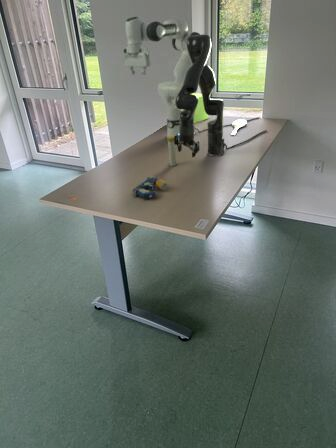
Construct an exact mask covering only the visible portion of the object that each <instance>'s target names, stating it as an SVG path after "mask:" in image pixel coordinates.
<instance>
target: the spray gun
mask: <svg viewBox="0 0 336 448" xmlns="http://www.w3.org/2000/svg"><path fill="white" fill-rule="evenodd" d="M155 186H156V187H157V188H158V189H159V190H161V191H166V190H167V189H168V188H169V187H168V186H169V185H168V184H167V182H166V181H164V180H163V179H158V177H157V176H156V175H155V176H146V178H145V179H144V180H143V181H141V182H140V183H139V184H138V185H137V186H136V187H134V188H133V189H132V193H131V194H132V195H133V196H134V197H137V196H138V197H140V198H142V199H144V200H148V199H152V198H154V197H155V196H156V194H157V191H155Z"/></svg>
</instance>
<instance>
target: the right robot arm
mask: <svg viewBox="0 0 336 448" xmlns="http://www.w3.org/2000/svg"><path fill="white" fill-rule="evenodd" d="M211 40H212V39H211V37H210V35H209V34H205V33H203V34H200V35H193V36H190V37H188V39H187V50H188V54H189V56H190V59H191V61H192V64H193V65H192V66H191V67H190V68H189V70H188V71H187V73H186V75H185V79H184V83H183V86H182V88H181V90H180V92H179V93H178V95H177V97H176V100H175V105H176V107H177V108H178V109H182V110H183V111H182V112H181V113H180V125H179V134H176V135H175V136H174V144H175V146H176V147H177V151H178V153H180V152H182V149H183V148H182V147H183V146H184V147H186V148H188V149H189V150H190V151H191V158H195V157H196V155H197V153H199V151H200V149H201V147H200V141H195V134H194V133H195V129H194V128H195V123H194V114H195V110H196V108H197V105H198V98H197V96H196V95H192V94H194V93H197V91H198V88H199V90H200V94H202V98H203V103H204V109H205V112H206V114H207V115H208V116H216V118H215V119H212V120H209V121H208V122H207V129H208V130H207V154H208V156H211V157H219V156H222V155H223V154H225V150H229V149H233V148H234V147H237V146H239V145H242V144H245V143H247V142H249V141H251V140H252V139H254V138H256V137H258V136H259V135H261V134H263V133H266V132H267V130H266V129H265V130H263V131H260V132H259V133H256V134H255V135H254V136H251V137H250V138H248V139H246V140H244V141H241V142H239V143H235V144H233V145H232V146H230V147H228V145H227V144H226V143H225V138H224V127H223V126H224V111H225V103H224V100H223V99H221V98H211V95H212V92H213V91H214V89H215V87H216V78H215V77H216V76H215V72H214V71H213V69H212V68H211V67H210V66H209V65H208V64H207V61H208V58H209V56H210V53H211V49H212V41H211ZM178 139H179V140H178ZM182 145H183V146H182Z"/></svg>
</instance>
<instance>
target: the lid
mask: <svg viewBox="0 0 336 448" xmlns="http://www.w3.org/2000/svg"><path fill="white" fill-rule="evenodd" d="M173 141H174V136H168V137H167V136H166V142H167V143H168V142H173Z"/></svg>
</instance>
